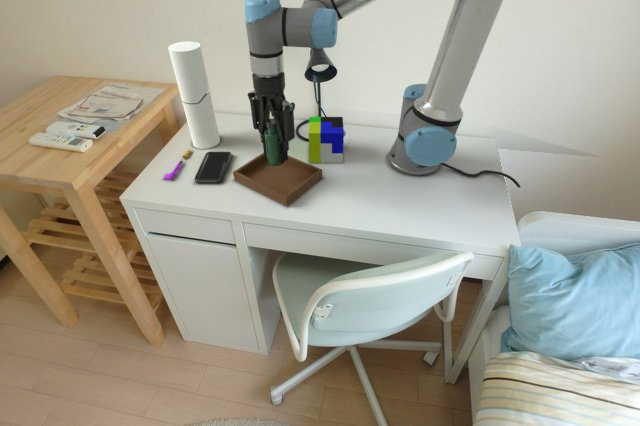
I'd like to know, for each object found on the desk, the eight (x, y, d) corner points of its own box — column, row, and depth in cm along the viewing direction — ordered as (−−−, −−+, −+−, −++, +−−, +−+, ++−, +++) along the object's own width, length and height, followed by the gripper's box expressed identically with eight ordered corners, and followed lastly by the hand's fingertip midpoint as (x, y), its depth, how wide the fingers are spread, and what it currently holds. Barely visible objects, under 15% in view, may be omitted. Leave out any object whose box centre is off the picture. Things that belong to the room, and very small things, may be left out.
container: (223, 135, 127) (204, 41, 107) (215, 149, 120) (193, 51, 100) (198, 134, 127) (175, 41, 107) (189, 148, 121) (162, 51, 101)
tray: (322, 178, 108) (322, 169, 106) (287, 207, 98) (286, 197, 96) (271, 156, 117) (270, 147, 115) (234, 180, 107) (232, 171, 105)
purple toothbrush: (172, 180, 107) (192, 150, 119) (170, 177, 106) (190, 147, 119) (164, 181, 108) (184, 152, 120) (162, 178, 107) (182, 149, 119)
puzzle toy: (342, 162, 114) (343, 133, 107) (309, 162, 114) (308, 133, 107) (341, 145, 121) (342, 116, 115) (310, 145, 122) (309, 116, 115)
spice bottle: (288, 159, 104) (286, 120, 96) (277, 168, 101) (273, 127, 93) (275, 154, 106) (271, 114, 98) (263, 162, 103) (259, 122, 95)
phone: (193, 180, 106) (206, 151, 117) (194, 183, 106) (207, 154, 118) (221, 180, 105) (232, 151, 117) (222, 183, 106) (232, 154, 117)
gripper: (308, 75, 86) (310, 161, 101) (251, 59, 94) (261, 141, 109) (287, 86, 81) (292, 175, 96) (229, 68, 89) (242, 152, 104)
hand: (276, 157), depth 103 cm, fingers closed on spice bottle, 5 cm apart
